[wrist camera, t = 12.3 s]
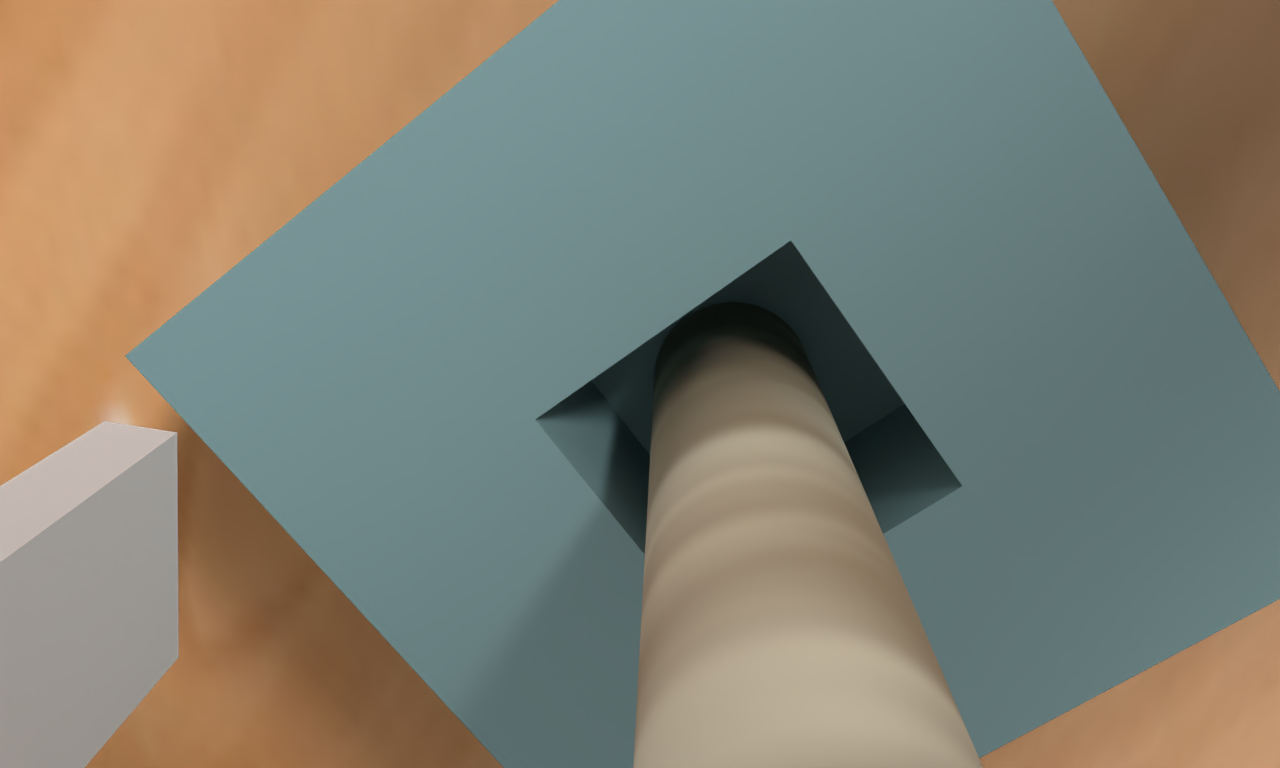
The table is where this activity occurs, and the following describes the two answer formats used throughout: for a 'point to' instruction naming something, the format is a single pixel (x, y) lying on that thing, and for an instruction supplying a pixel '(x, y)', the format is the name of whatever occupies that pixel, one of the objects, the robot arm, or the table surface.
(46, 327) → the table surface
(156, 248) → the table surface
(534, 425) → the socket block
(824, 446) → the pin
